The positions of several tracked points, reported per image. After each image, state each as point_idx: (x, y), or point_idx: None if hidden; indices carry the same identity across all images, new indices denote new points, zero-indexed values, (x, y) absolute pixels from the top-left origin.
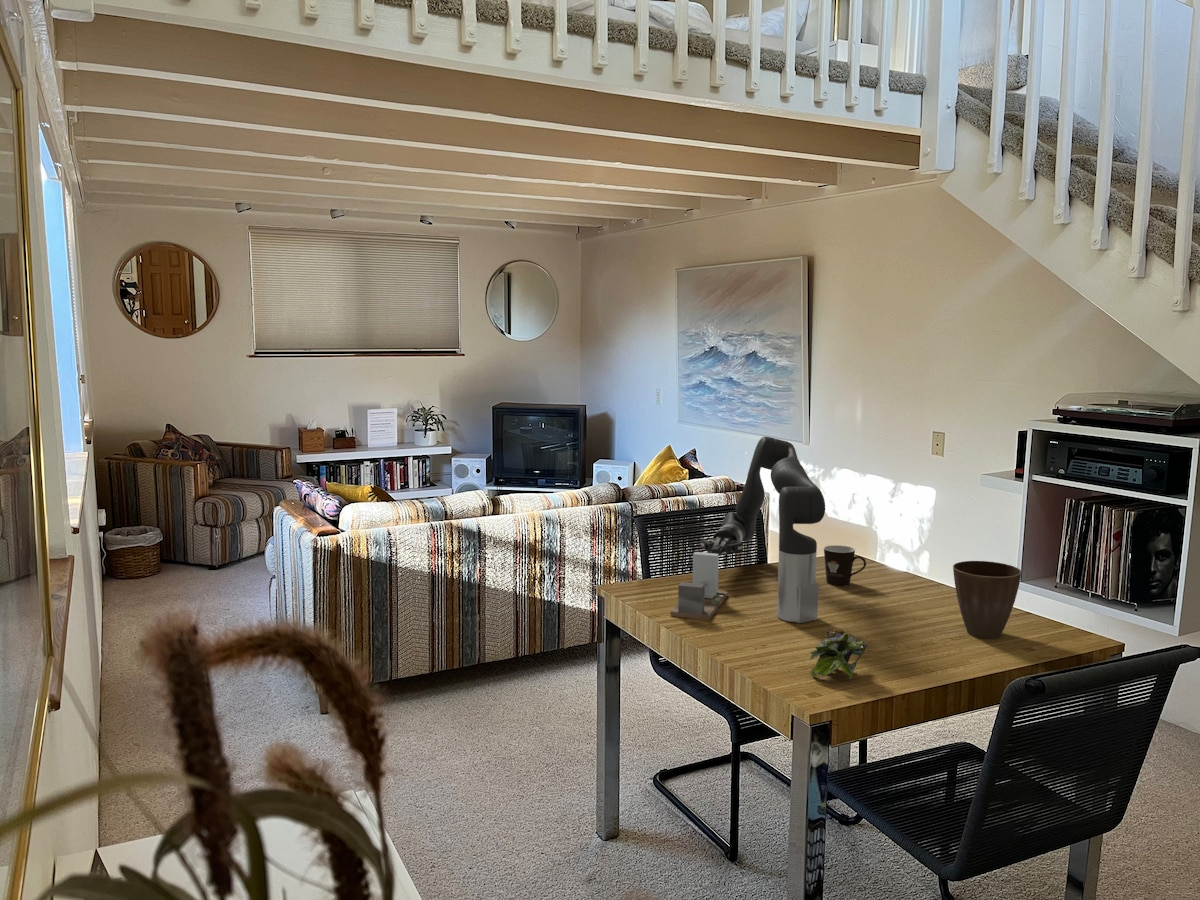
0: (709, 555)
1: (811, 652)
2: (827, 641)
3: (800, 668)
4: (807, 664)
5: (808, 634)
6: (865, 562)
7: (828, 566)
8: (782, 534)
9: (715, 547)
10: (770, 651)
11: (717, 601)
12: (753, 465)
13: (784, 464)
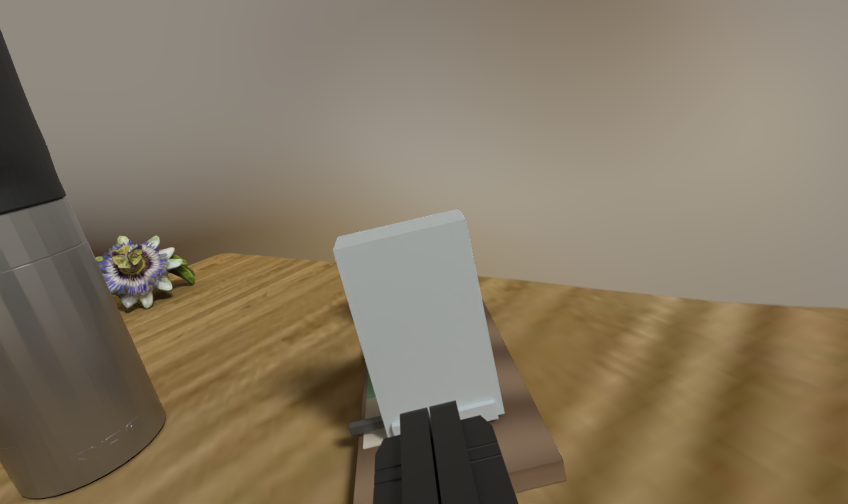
0: (374, 229)
1: (180, 260)
2: (156, 237)
3: (203, 289)
4: (187, 299)
5: None
6: None
7: None
8: (39, 129)
9: (446, 437)
10: (238, 299)
11: (371, 385)
12: None
13: None
